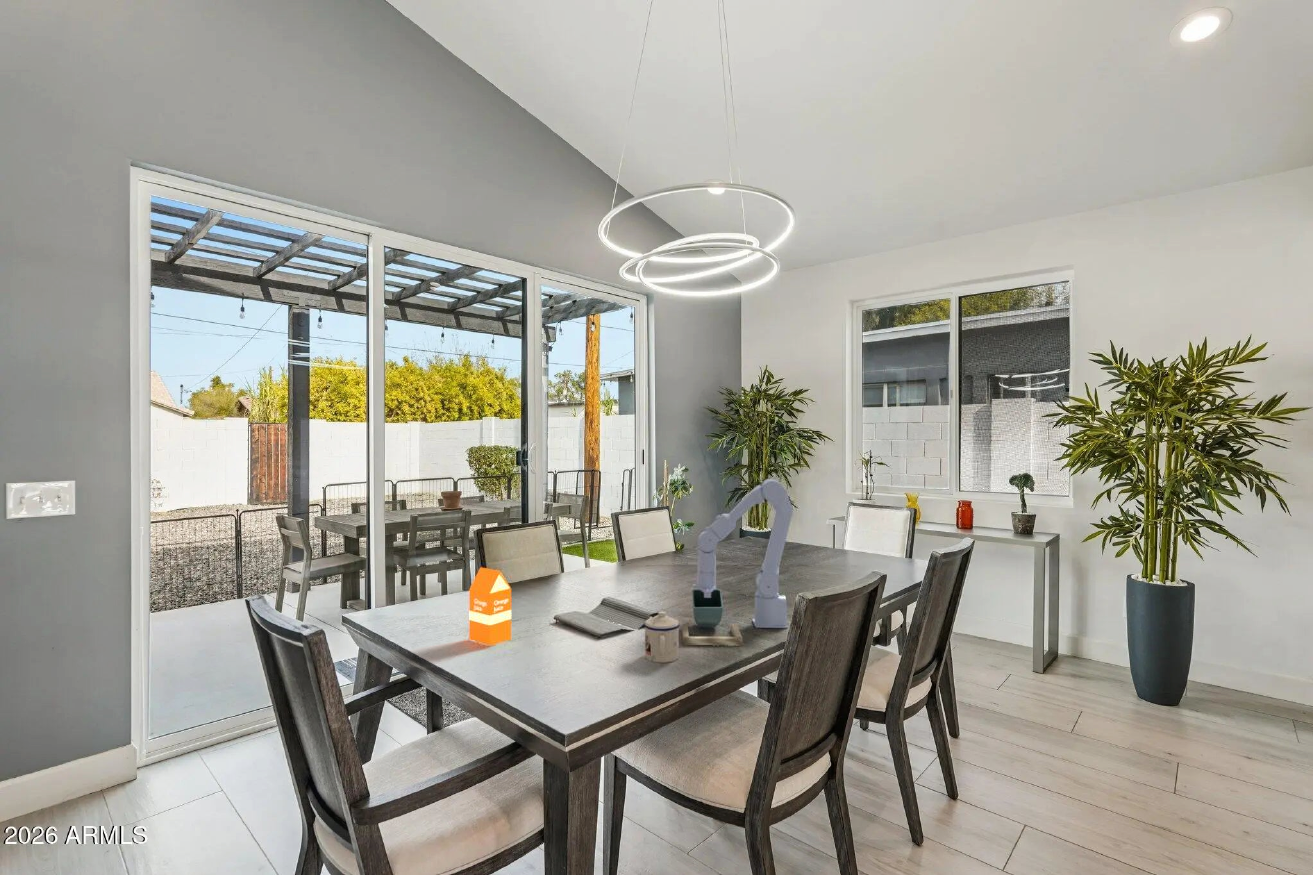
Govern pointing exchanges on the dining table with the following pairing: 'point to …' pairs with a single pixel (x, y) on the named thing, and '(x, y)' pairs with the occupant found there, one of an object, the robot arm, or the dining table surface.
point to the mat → (607, 617)
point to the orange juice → (489, 608)
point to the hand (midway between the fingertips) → (705, 615)
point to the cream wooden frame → (713, 638)
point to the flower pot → (707, 608)
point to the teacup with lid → (661, 638)
